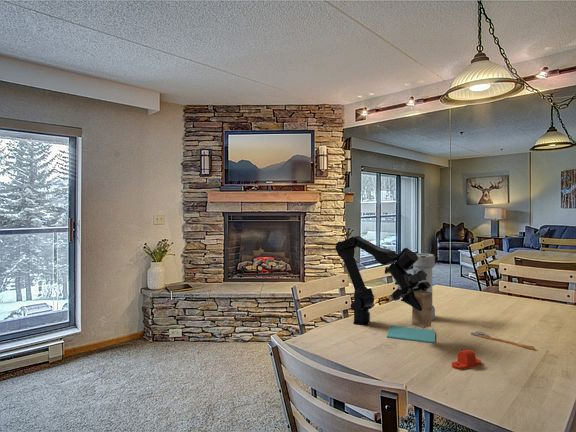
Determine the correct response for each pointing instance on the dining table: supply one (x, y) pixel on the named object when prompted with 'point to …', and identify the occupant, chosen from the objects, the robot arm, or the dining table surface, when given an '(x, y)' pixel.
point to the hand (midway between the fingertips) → (425, 309)
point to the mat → (411, 334)
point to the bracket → (466, 360)
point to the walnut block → (423, 316)
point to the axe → (486, 336)
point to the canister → (426, 271)
